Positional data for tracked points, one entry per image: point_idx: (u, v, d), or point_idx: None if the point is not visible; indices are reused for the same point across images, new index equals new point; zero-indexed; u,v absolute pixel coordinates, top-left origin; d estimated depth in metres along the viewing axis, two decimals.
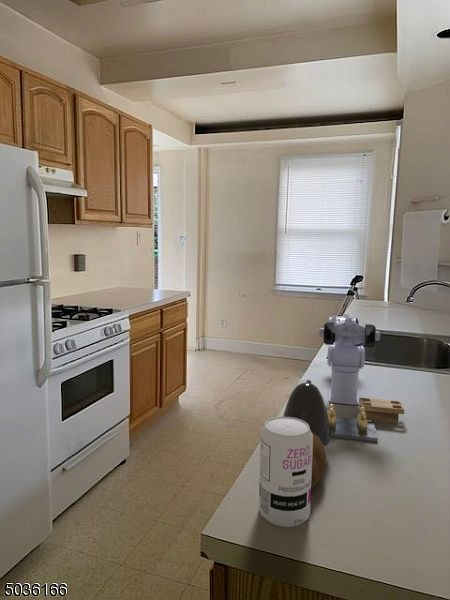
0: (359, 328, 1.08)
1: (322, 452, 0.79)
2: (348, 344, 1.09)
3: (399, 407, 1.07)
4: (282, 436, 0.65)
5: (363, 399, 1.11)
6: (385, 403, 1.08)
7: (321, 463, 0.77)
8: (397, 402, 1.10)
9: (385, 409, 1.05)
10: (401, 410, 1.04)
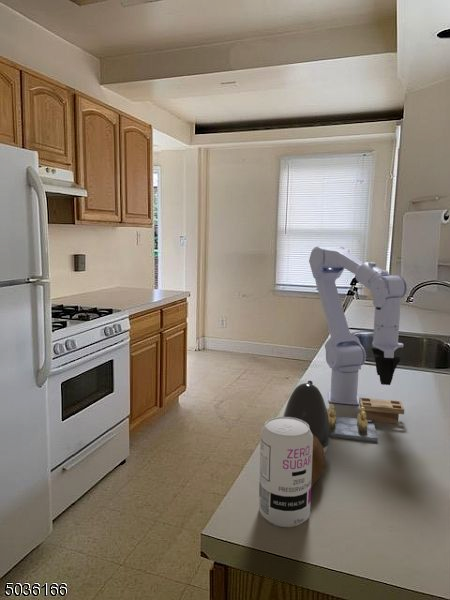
0: None
1: (320, 453, 0.78)
2: None
3: (399, 407, 1.07)
4: (282, 436, 0.65)
5: (363, 399, 1.11)
6: (385, 403, 1.08)
7: (319, 464, 0.77)
8: (397, 402, 1.10)
9: (385, 409, 1.05)
10: (401, 410, 1.04)
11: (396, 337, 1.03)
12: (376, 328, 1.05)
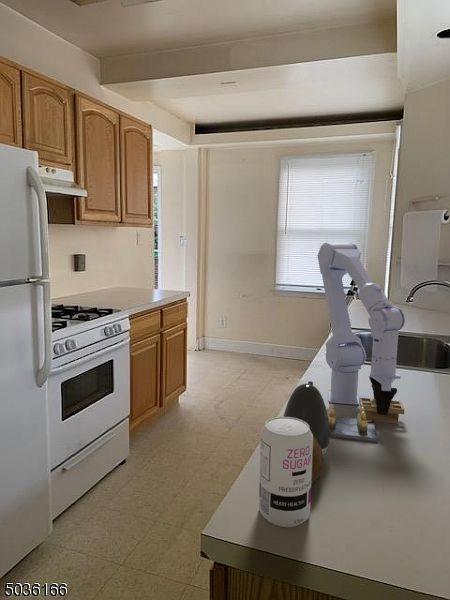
0: None
1: (318, 454, 0.78)
2: None
3: (399, 407, 1.07)
4: (282, 436, 0.65)
5: (363, 399, 1.11)
6: None
7: (316, 465, 0.77)
8: (397, 402, 1.10)
9: None
10: (401, 410, 1.04)
11: (393, 369, 1.05)
12: (374, 359, 1.06)
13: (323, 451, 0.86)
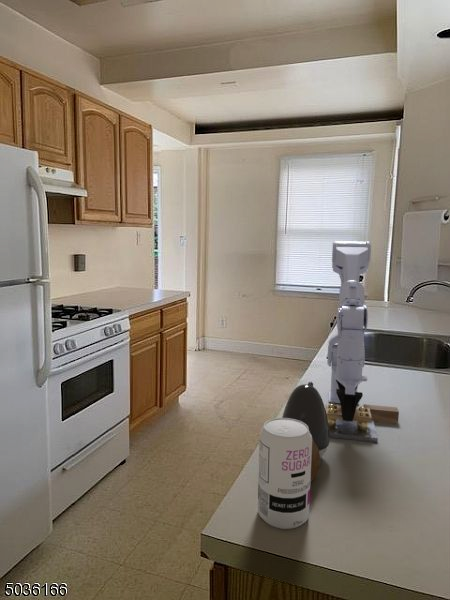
0: None
1: (314, 455, 0.78)
2: None
3: (367, 415, 1.00)
4: (281, 438, 0.65)
5: None
6: None
7: (312, 466, 0.76)
8: (365, 409, 1.03)
9: None
10: (368, 418, 0.98)
11: (359, 371, 0.98)
12: (339, 361, 0.99)
13: (321, 452, 0.85)
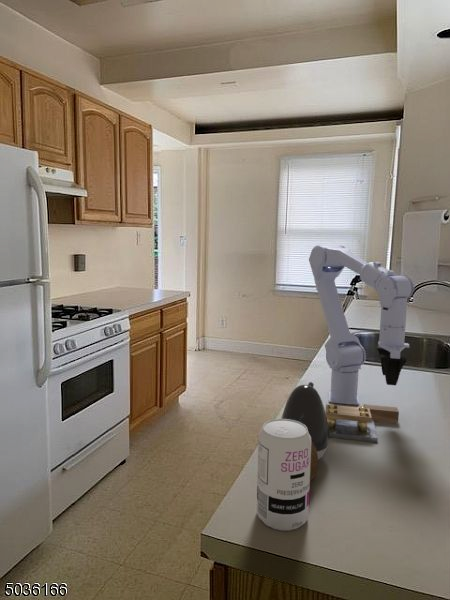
0: None
1: (311, 456, 0.77)
2: None
3: (367, 415, 1.00)
4: (280, 439, 0.65)
5: None
6: (352, 411, 1.02)
7: None
8: (365, 409, 1.03)
9: (351, 417, 0.99)
10: (368, 418, 0.98)
11: (402, 337, 1.03)
12: (382, 328, 1.04)
13: (320, 453, 0.85)
